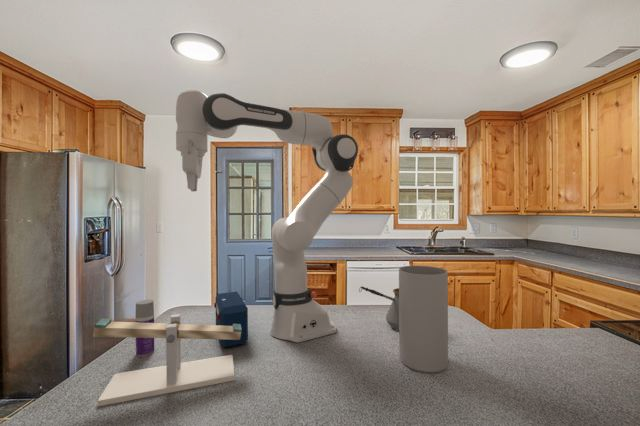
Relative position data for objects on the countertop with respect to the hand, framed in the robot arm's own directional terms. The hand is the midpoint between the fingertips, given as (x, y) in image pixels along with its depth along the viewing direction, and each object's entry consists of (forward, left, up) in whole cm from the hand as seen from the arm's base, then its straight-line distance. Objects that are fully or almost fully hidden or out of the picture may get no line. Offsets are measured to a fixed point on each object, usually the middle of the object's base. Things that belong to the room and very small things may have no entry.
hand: (192, 190), depth 89 cm
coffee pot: (-64, +9, -48) cm, 80 cm away
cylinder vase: (-60, +32, -48) cm, 83 cm away
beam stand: (+3, +18, -48) cm, 51 cm away
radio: (-11, -4, -48) cm, 50 cm away
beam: (+3, +18, -37) cm, 42 cm away
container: (+13, 0, -48) cm, 50 cm away
